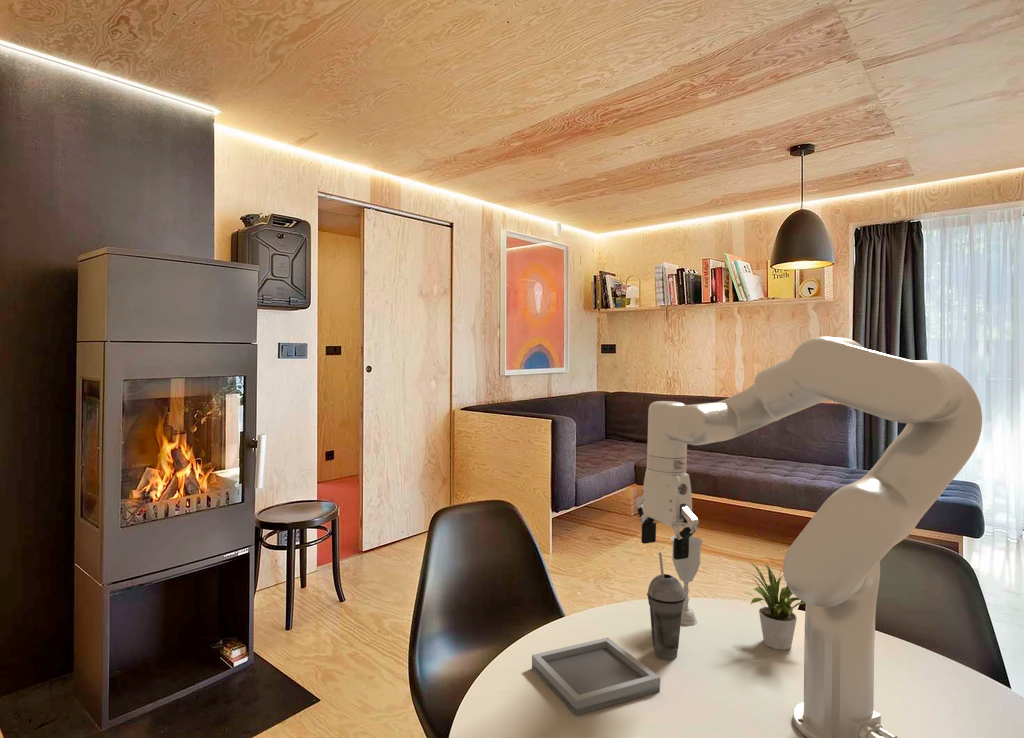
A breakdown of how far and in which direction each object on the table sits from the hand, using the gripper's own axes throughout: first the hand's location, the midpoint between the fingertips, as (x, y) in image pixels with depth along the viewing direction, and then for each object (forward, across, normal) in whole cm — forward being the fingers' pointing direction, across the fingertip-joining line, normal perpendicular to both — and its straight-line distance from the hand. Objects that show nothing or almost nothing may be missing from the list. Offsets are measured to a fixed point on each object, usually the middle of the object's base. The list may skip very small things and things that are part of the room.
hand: (664, 550), depth 114 cm
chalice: (+21, +9, -14) cm, 27 cm away
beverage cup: (+21, -1, 0) cm, 21 cm away
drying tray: (+20, -3, +18) cm, 27 cm away
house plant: (+20, -6, -23) cm, 32 cm away
